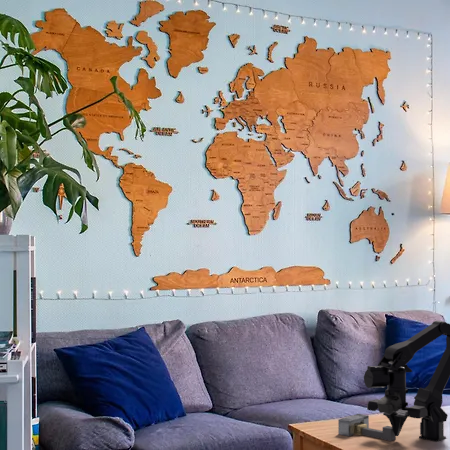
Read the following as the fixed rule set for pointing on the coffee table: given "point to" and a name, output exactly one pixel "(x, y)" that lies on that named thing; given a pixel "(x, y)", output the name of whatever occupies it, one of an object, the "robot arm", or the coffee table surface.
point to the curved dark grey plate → (351, 423)
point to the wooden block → (359, 428)
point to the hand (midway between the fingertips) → (396, 435)
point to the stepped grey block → (380, 433)
